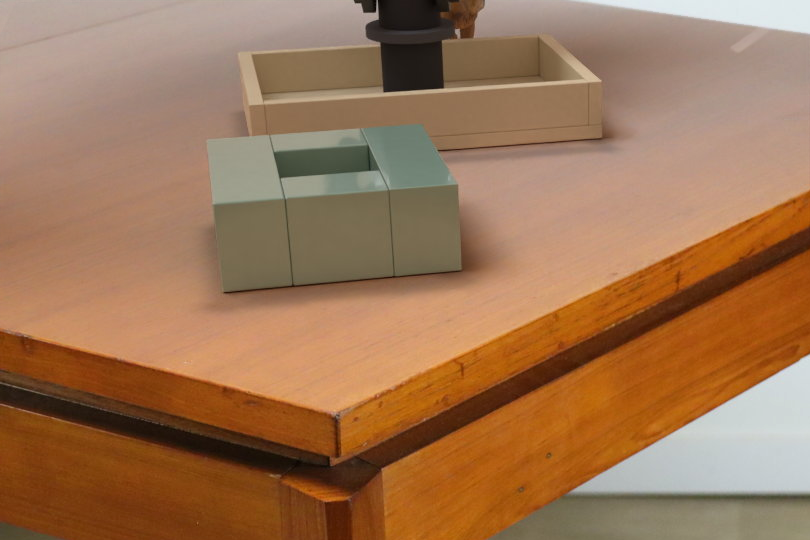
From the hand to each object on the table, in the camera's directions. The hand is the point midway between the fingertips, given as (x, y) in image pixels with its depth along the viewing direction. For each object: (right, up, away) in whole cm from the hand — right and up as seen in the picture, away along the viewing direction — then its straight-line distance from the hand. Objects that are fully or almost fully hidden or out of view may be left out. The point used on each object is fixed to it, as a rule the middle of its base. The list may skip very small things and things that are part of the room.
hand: (404, 3), depth 86 cm
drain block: (-2, -15, -15) cm, 21 cm away
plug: (0, -5, +5) cm, 7 cm away
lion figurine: (+1, +1, +20) cm, 20 cm away
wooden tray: (0, -6, +5) cm, 8 cm away
